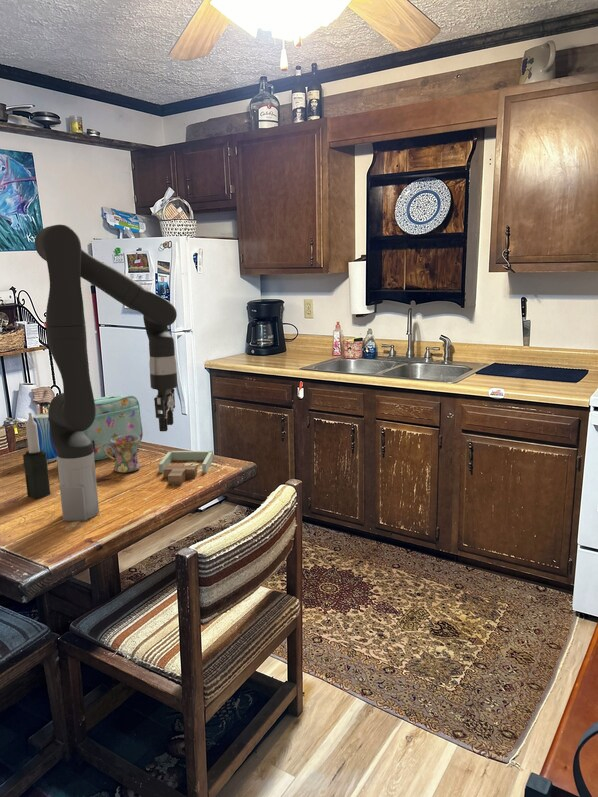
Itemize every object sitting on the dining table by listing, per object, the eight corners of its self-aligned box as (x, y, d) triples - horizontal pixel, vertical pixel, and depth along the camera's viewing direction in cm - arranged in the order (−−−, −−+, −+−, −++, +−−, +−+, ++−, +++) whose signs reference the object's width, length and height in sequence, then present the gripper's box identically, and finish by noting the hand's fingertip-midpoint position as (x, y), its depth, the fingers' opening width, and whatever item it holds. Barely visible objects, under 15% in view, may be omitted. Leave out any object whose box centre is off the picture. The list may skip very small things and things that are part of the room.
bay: (206, 472, 191) (205, 464, 190) (159, 472, 191) (158, 464, 191) (213, 459, 205) (213, 450, 204) (169, 459, 205) (169, 451, 204)
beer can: (34, 458, 208) (29, 414, 205) (60, 454, 211) (55, 411, 208) (35, 465, 201) (30, 419, 197) (61, 461, 204) (57, 416, 201)
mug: (143, 464, 200) (141, 434, 197) (139, 473, 191) (137, 442, 188) (107, 466, 198) (104, 436, 196) (101, 475, 189) (98, 444, 187)
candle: (52, 493, 174) (43, 411, 169) (37, 499, 170) (27, 415, 165) (41, 490, 177) (32, 409, 172) (25, 496, 173) (16, 413, 167)
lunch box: (87, 466, 199) (81, 404, 194) (67, 461, 204) (61, 401, 200) (146, 446, 221) (142, 390, 216) (127, 442, 226) (123, 387, 221)
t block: (191, 484, 180) (190, 475, 180) (158, 484, 180) (158, 475, 180) (197, 474, 190) (197, 465, 189) (166, 474, 190) (166, 465, 190)
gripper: (170, 375, 160) (173, 434, 164) (181, 367, 174) (184, 421, 178) (143, 375, 160) (147, 434, 164) (156, 367, 174) (160, 421, 178)
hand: (166, 427), depth 171 cm, fingers open, 6 cm apart
